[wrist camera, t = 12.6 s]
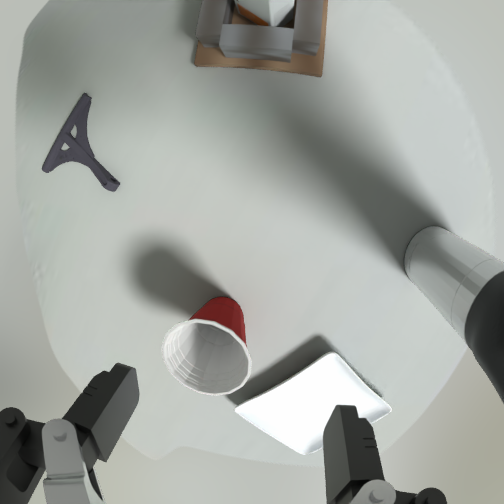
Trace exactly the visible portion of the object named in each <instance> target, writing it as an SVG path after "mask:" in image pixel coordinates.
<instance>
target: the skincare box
mask: <svg viewBox="0 0 504 504" xmlns="http://www.w3.org/2000/svg"><path fill="white" fill-rule="evenodd" d="M234 1H235V4H236V7H237V10H238V13H239V14H240V15H242V16H244V17H245V18H247V19H248V20H250V21H251V22H253V23H255V24H256V25H260V26H273V27H283V26H284V25H286V24H287V23H288V22H289V21H291V20H292V19H293V13H294V1H295V0H234Z"/></svg>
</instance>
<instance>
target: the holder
mask: <svg viewBox="0 0 504 504" xmlns="http://www.w3.org/2000/svg"><path fill="white" fill-rule="evenodd" d="M327 6H328V0H295V1H294V13H293V19H292V20H291V21H289V22H288V23H287V24H286V25H284V26H283V27H273V26H260V25H256V24H255V23H253V22H251V21H250V20H248V19H247V18H245V17H244V16H242V15H240V14H239V13H238V10H237V7H236V4H235V1H234V0H203V1H202V5H201V9H200V14H199V19H198V23H197V28H196V33H195V35H196V37H197V38H198V39H199V40H198V45H197V51H196V57H195V62H194V64H195V65H196V66H197V67H235V68H251V69H263V70H273V71H282V72H290V73H297V74H304V75H310V76H316V77H321V76H322V70H323V59H324V48H325V35H326V22H327Z"/></svg>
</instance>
